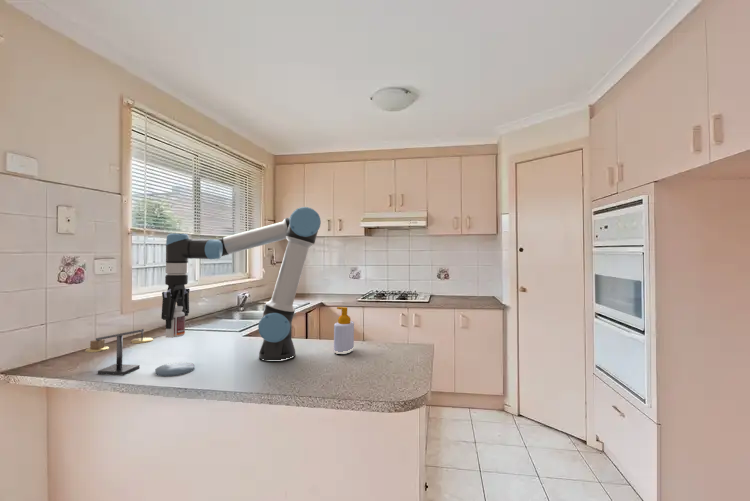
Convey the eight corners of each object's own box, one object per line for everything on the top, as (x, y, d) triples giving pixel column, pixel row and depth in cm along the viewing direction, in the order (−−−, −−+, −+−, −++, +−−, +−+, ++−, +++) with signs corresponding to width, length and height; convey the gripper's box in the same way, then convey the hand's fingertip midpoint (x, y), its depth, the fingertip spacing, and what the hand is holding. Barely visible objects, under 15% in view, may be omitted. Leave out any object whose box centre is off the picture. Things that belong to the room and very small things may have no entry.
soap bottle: (341, 347, 177) (341, 305, 177) (357, 349, 175) (357, 306, 175) (329, 354, 165) (330, 309, 165) (346, 356, 162) (347, 310, 162)
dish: (201, 365, 146) (201, 362, 146) (181, 377, 133) (181, 373, 133) (169, 364, 147) (169, 361, 147) (147, 375, 134) (147, 372, 134)
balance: (157, 368, 142) (158, 327, 142) (142, 375, 134) (143, 331, 134) (97, 366, 143) (97, 325, 143) (79, 373, 135) (79, 329, 135)
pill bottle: (183, 333, 144) (184, 305, 144) (185, 336, 139) (186, 307, 139) (165, 335, 141) (166, 306, 141) (166, 338, 136) (167, 308, 136)
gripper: (182, 272, 150) (181, 329, 150) (150, 275, 131) (148, 340, 131) (200, 273, 149) (198, 330, 149) (170, 276, 130) (169, 341, 130)
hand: (175, 335), depth 140 cm, fingers closed on pill bottle, 6 cm apart
